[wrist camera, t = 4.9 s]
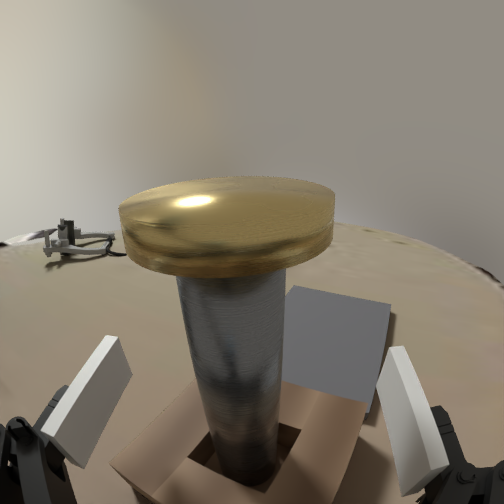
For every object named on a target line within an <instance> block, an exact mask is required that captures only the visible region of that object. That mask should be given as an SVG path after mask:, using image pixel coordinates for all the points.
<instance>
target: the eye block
mask: <svg viewBox="0 0 504 504" xmlns="http://www.w3.org/2000/svg"><path fill="white" fill-rule="evenodd" d="M367 406H368V403H365V402H361V401H356V400H352V399H348V398H343V397H339V396H335V395H331V394H328V393H324V392H320V391H316V390H313V389H309V388H306V387H302V386H299V385H295V384H292V383H289V382H285V381H282V380H281V397H280V412H279V426H278V440H277V452H276V464H275V470H274V473H273V475H272V476H271V477H270V478H269V479H268V480H267V481H266V482H264V483H262V484H260V485H257V486H253V487H246V486H244V485H242V484H239V483H237V482H235V481H233V480H231V479H228V478H226V477H225V476H224V475H223V473H222V470H221V467H220V464H219V461H218V457H217V454H216V451H215V448H214V444H213V441H212V437H211V434H210V430H209V427H208V423H207V419H206V416H205V412H204V408H203V404H202V400H201V396H200V392H199V388H198V384H197V380H196V378H195V379H194V381H193V382H192V383H191V384H190V385H189V386H188V387H187V388H186V389H185V390H184V391H183V392H182V393H181V394H180V395H179V396H178V397H177V398H176V399H175V400H174V401H173V402H172V403H171V404H170V405H169V406H168V407H167V408H166V409H165V410H164V411H163V412H162V413H161V414H160V415H159V416H158V417H157V418H156V419H155V420H154V421H153V422H152V423H151V424H150V425H149V426H147V427H146V428H145V429H144V430H143V431H142V432H141V433H140V434H139V435H138V436H137V437H136V438H135V439H134V440H133V441H132V442H131V443H130V444H129V445H128V446H127V447H125V448H124V449H123V450H122V451H121V452H120V453H119V454H118V455H117V456H116V457H115V458H114V459H112V460H111V461H110V462H109V464H110V465H111V466H112V467H113V468H114V469H115V470H116V472H117V473H118V474H119V475H120V476H121V477H122V478H123V479H124V480H125V481H126V482H127V483H128V484H129V485H130V486H132V487H133V488H134V489H135V490H137V491H138V492H139V493H141V494H142V495H143V496H145V497H146V498H148V499H149V500H150V501H152V502H153V503H155V504H332V502H333V500H334V498H335V495H336V493H337V491H338V488H339V486H340V484H341V481H342V479H343V476H344V474H345V471H346V469H347V466H348V464H349V461H350V458H351V455H352V453H353V450H354V447H355V444H356V441H357V438H358V435H359V432H360V429H361V426H362V423H363V419H364V416H365V413H366V409H367Z"/></svg>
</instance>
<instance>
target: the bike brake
mask: <svg viewBox="0 0 504 504" xmlns="http://www.w3.org/2000/svg"><path fill="white" fill-rule="evenodd" d="M60 222H61V225H58V238H59V239H51V245H50V241H49V231H48V229H46V230H44V235H45V246H43V251H44V252H45V255H47V257H51V254H52V252H60V255H70V253H74V254H84V255H93V254H102V255H103V254H106V252H108V253H110V254H113V255H116V256H126V255H127V254H124V253H116V252H112V251H110V250H108V249H109V247H110V246H109V245H110V244H111V243H112V239H114V238H115V236H114V235H115V233H113V232H110V233H107V232H81V229H80V228H77V227H74V221H65V220H64V218H61V219H60ZM94 237H101V238H108V239H107V240H106V242H105V243H104V244H103V246H105V247H103V246H102V247H101V248H81V247H76V246H75V239H84V238H94Z"/></svg>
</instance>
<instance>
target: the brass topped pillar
mask: <svg viewBox="0 0 504 504" xmlns="http://www.w3.org/2000/svg"><path fill="white" fill-rule="evenodd" d="M334 206H335V194H334V192H333V191H332V190H331V189H329V188H327V187H325V186H322V185H320V184H316V183H313V182H308V181H303V180H298V179H290V178H281V177H264V176H262V177H261V176H236V177H219V178H207V179H198V180H191V181H184V182H179V183H174V184H169V185H164V186H160V187H156V188H153V189H150V190H146V191H144V192H141V193H138V194H136V195H134V196H131V197H130V198H128V199H126V200H125V201H123V202H122V203H121V204H120V205H119V208H118V209H119V215H120V222H121V228H122V234H123V239H124V244H125V249H126V253H127V255H128V256H129V258H130V259H131V260H132V261H134V262H135V263H136V264H138V265H140V266H142V267H144V268H147V269H149V270H152V271H155V272H159V273H164V274H168V275H175V276H176V280H177V286H178V292H179V297H180V303H181V309H182V314H183V319H184V324H185V329H186V334H187V339H188V344H189V349H190V354H191V358H192V363H193V367H194V371H195V376H196V380H197V384H198V388H199V392H200V396H201V400H202V404H203V408H204V412H205V416H206V419H207V423H208V427H209V430H210V434H211V437H212V441H213V444H214V448H215V451H216V454H217V457H218V461H219V464H220V467H221V470H222V473H223V475H224V476H225V477H226V478H228V479H231V480H233V481H235V482H237V483H239V484H242V485H244V486H246V487H253V486H257V485H260V484H262V483H264V482H266V481H267V480H268V479H269V478H270V477H271V476H272V475H273V473H274V470H275V464H276V452H277V440H278V426H279V412H280V397H281V380H282V361H283V339H284V313H285V280H286V268H289V267H292V266H295V265H298V264H301V263H303V262H306V261H308V260H310V259H312V258H314V257H316V256H318V255H319V254H320V253H322V252H323V251H325V250H326V249H327V247H328V246H329V245H330V244H331V242H332V239H333V225H334V208H335V207H334Z"/></svg>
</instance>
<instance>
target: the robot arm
mask: <svg viewBox="0 0 504 504" xmlns="http://www.w3.org/2000/svg"><path fill="white" fill-rule="evenodd" d="M132 375H133V374H132V372H131V370H130V367H129V365H128V362H127V359H126V357H125V354H124V352H123V349H122V346H121V343H120V341H119V338H118V337H115V336H109V335H106V336H105V338H104V339H103V340H102V342H101V343H100V344H99V346H98V347H97V348H96V350H95V351H94V352H93V354H92V355H91V357H90V358H89V359H88V361H87V362H86V363H85V365H84V366H83V368H82V369H81V370H80V372H79V373H78V375H77V376H76V378H75V379H74V380H73V382H72V383H71V385H70V386H67V385H64V386H63V387H62V388H60V389H59V390H58V391H57V392H56V393H55V395H54V396H53V398H52V400H51V401H50V402H49V403H48V406H46V408H45V409H44V411H43V412H42V414H41V415H40V417H39V418H38V420H37V421H36V423H35V425H34V426H33V427H31V426H30V424H29V423H28V422H27V421H26V420H25V419H24V418H22V417H14V418H12V419H11V420H10V421H9V422H8V423H7V425H6V428H5V427H4V426H3V425H2V424H0V504H77V501H76V498H75V495H74V492H73V489H72V486H71V482H70V479H69V475H68V472H67V468H66V465H65V463H64V459H65V457H66V458H67V459H68V460H69V461H70V462H71V463H72V464H74V465H76V466H78V467H81V468H83V469H84V468H85V466H86V464H87V462H88V460H89V458H90V456H91V454H92V452H93V450H94V448H95V446H96V444H97V442H98V440H99V438H100V436H101V434H102V432H103V430H104V428H105V426H106V424H107V422H108V420H109V418H110V416H111V414H112V412H113V410H114V408H115V406H116V405H117V403H118V401H119V399H120V397H121V395H122V393H123V391H124V389H125V388H126V386H127V384H128V382H129V380H130V378H131V377H132ZM376 388H377V392H378V395H379V399H380V403H381V406H382V410H383V414H384V418H385V422H386V426H387V430H388V434H389V438H390V442H391V447H392V451H393V456H394V460H395V465H396V470H397V475H398V480H399V485H400V491H401V497H403V496H407V495H411V494H415V493H418V492H419V491H421V490H422V489H423V488H424V489H425V494H423V495H422V496H421V497H420V498H418V500H417V501H416V502H417V503H418V502H419V501H420V502H419V504H504V460H503V461H501V462H499V463H498V464H497V465H496V466H494V467H485V468H476V467H475V466H474V465H472V464H471V463H468V462H467V461H466V460H465V458H464V455H463V452H462V449H461V446H460V444H459V441H458V438H457V436H456V433H455V432H454V428H453V425H451V420H450V418H449V415H448V413H447V412H446V411H445V410H444V409H443V408H442V407H441V406H440V405H439V406H435V407H429V404H428V402H427V399H426V396H425V394H424V392H423V389H422V387H421V384H420V382H419V380H418V377H417V375H416V373H415V370H414V368H413V366H412V363H411V361H410V359H409V357H408V354H407V352H406V350H405V348H404V346H396V347H389V349H388V353H387V356H386V359H385V362H384V365H383V367H382V370H381V373H380V376H379V379H378V381H377V384H376ZM8 460H9V461H10V465H9V466H8Z"/></svg>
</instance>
